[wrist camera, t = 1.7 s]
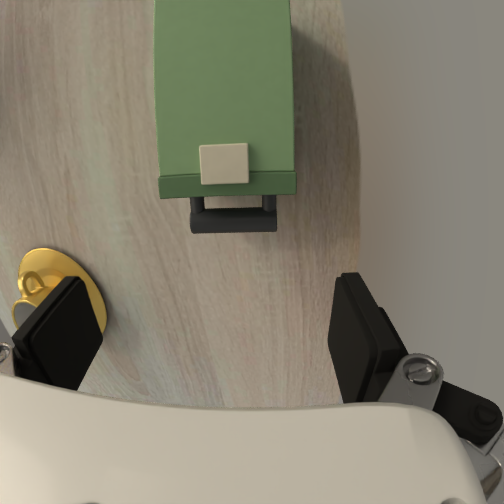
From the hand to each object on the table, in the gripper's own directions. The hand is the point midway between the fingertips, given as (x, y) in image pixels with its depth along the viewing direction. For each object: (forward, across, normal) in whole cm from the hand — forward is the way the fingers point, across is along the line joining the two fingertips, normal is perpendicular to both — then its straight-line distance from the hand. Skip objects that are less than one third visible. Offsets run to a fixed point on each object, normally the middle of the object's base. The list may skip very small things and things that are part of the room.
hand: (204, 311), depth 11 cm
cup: (+14, +19, +9) cm, 26 cm away
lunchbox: (+10, 0, -14) cm, 18 cm away
